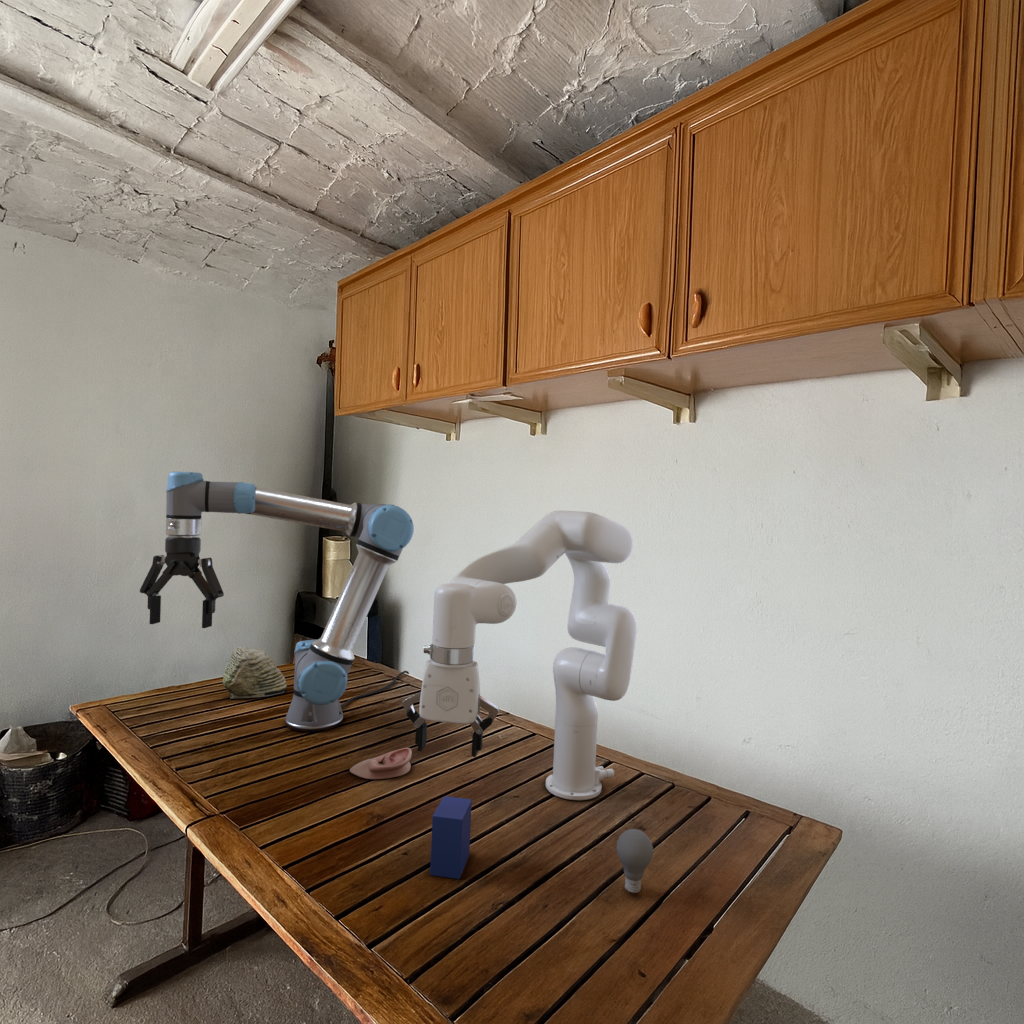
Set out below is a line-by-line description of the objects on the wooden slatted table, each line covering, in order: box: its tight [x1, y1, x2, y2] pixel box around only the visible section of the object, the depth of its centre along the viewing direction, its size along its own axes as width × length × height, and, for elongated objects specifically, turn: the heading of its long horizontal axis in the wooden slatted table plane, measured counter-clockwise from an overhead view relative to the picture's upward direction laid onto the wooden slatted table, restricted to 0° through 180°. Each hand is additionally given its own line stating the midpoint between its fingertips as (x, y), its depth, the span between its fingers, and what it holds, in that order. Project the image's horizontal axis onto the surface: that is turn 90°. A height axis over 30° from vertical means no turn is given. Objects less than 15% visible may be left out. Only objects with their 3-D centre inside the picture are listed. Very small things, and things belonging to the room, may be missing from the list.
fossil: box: [222, 646, 288, 699], centre depth 198 cm, size 9×18×15 cm, turn 132°
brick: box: [429, 795, 473, 880], centre depth 111 cm, size 5×8×10 cm
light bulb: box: [615, 828, 654, 894], centre depth 106 cm, size 6×6×10 cm
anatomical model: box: [349, 747, 413, 780], centre depth 148 cm, size 13×4×12 cm
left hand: (180, 625), depth 151 cm, fingers open, 13 cm apart
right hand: (448, 751), depth 112 cm, fingers open, 9 cm apart
